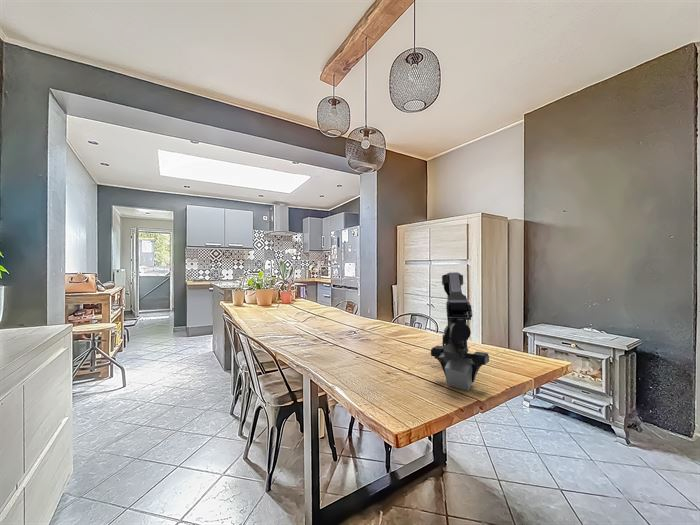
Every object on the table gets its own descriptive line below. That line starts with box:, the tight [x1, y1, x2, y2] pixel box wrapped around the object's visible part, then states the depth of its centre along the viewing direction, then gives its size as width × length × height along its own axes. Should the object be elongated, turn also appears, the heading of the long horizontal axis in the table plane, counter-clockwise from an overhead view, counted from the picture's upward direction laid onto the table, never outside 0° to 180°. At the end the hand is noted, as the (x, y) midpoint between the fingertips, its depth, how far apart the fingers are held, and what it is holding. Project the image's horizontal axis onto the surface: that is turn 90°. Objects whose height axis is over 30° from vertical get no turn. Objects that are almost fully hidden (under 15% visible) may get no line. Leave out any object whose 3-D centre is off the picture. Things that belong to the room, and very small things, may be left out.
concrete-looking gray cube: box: [444, 358, 474, 392], centre depth 106 cm, size 8×8×8 cm
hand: (459, 379), depth 106 cm, fingers open, 9 cm apart
